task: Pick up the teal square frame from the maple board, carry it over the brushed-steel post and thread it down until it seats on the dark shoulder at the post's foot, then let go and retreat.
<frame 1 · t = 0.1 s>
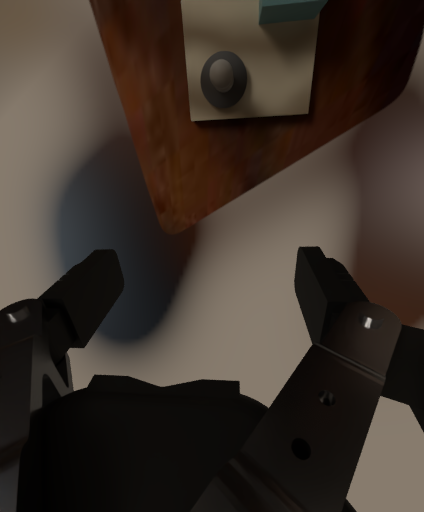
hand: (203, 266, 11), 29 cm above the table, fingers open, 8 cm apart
post board: (248, 40, 29), on the table
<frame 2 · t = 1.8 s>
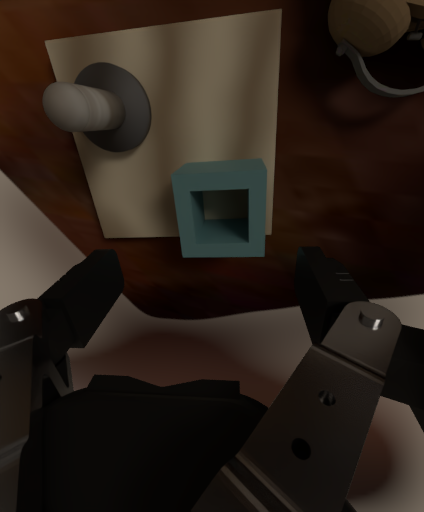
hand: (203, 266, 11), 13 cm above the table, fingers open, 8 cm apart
teal square frame: (225, 197, 21), point 1 cm above the table, touching post board
post board: (176, 148, 21), on the table
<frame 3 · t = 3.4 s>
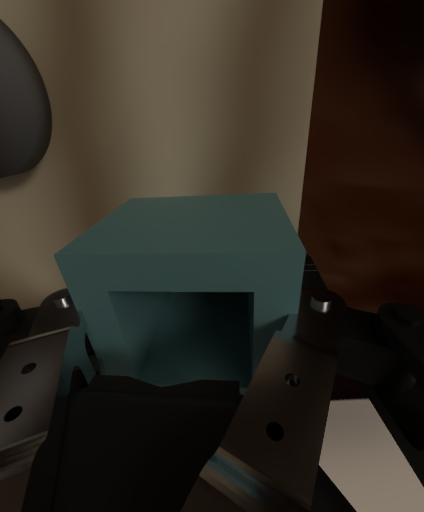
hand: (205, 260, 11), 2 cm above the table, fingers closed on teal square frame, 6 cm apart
teal square frame: (206, 259, 12), point 2 cm above the table, touching gripper, post board
post board: (117, 168, 11), on the table
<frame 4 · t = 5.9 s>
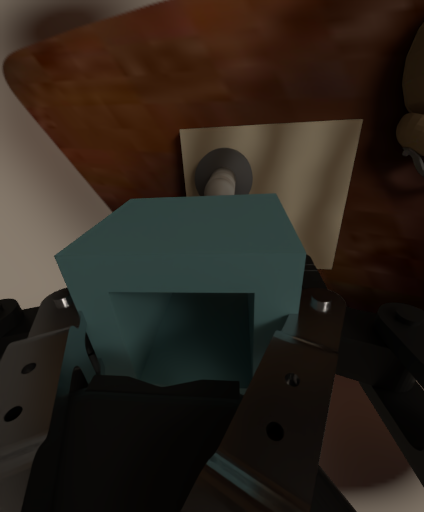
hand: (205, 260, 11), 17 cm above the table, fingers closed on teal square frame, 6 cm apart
teal square frame: (206, 259, 12), point 17 cm above the table, touching gripper
post board: (262, 202, 27), on the table
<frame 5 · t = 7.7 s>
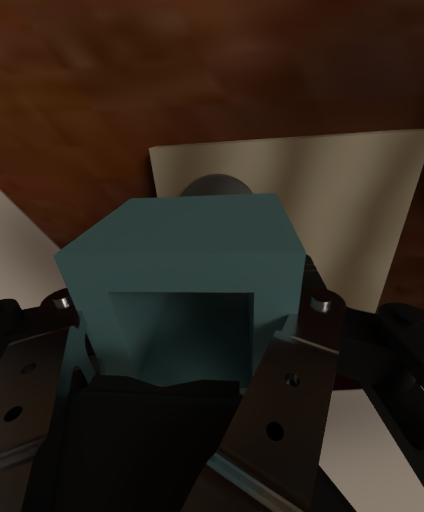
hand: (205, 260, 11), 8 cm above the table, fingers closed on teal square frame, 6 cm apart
teal square frame: (206, 259, 12), point 8 cm above the table, touching gripper
post board: (272, 244, 19), on the table
when the fingers open (4 cm above the table, at t = 8.9 s): teal square frame drops 1 cm, resting on post board.
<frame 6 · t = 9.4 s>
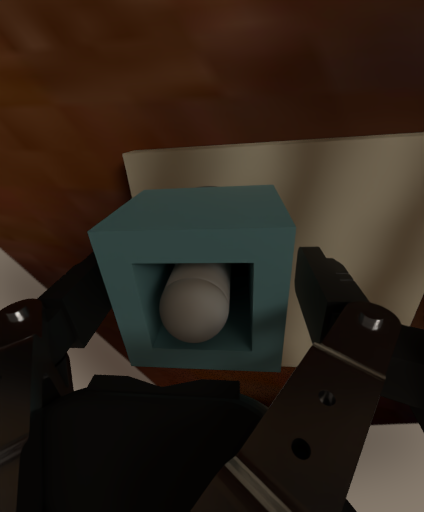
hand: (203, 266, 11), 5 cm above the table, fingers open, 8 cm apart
teal square frame: (210, 245, 13), point 2 cm above the table, touching post board
post board: (277, 268, 16), on the table
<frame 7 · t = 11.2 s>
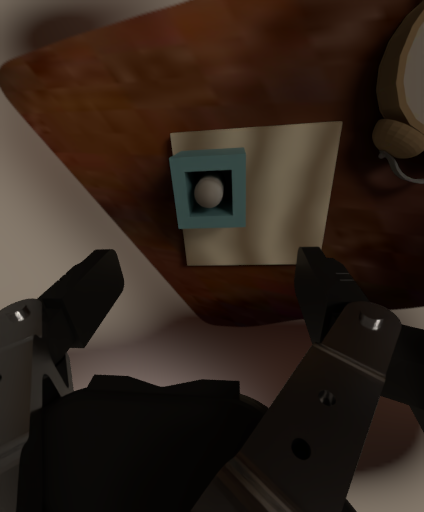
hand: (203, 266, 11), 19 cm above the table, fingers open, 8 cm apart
teal square frame: (214, 181, 25), point 2 cm above the table, touching post board
post board: (251, 201, 28), on the table
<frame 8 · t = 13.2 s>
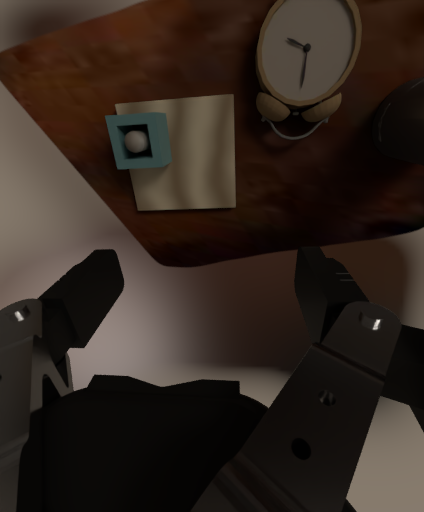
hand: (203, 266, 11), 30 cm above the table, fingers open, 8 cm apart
teal square frame: (148, 139, 34), point 2 cm above the table, touching post board
post board: (181, 158, 37), on the table
alarm clock: (297, 73, 32), on the table
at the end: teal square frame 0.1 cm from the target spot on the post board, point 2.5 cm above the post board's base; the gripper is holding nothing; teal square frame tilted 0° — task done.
